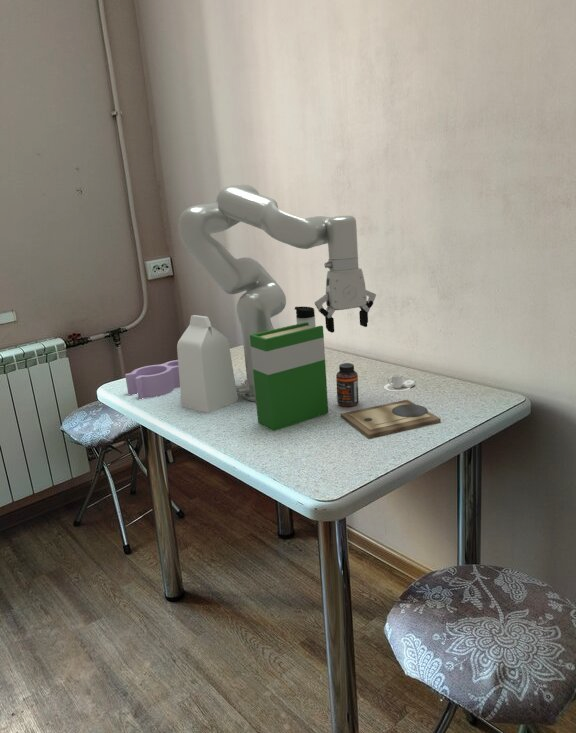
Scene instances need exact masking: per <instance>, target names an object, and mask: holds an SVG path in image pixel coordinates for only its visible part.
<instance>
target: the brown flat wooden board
mask: <svg viewBox="0 0 576 733" xmlns="http://www.w3.org/2000/svg"><path fill="white" fill-rule="evenodd" d="M340 418H341V419H343V420H344V422H346V423H347V424H349V425H351V427H353V428H354V429H356V430H357V431H358V432H360V433H361V434H362V435H364V437H366V438H368V439H372V438H376V437H377V438H378V437H381V436H386V435H390V434H395V433H400V432H403V431H408V430H412V429H416V428H421V427H425V426H430V425H434V424H438V423H439V424H440V423H441V421H442V420H441V419H442V418H441V417H438V416H437V415H435V414H434V413H432V412H430V411H428V409H427V407H425V406H424V405H420V404H416V403H415V402H412V401H410V400H409V399H403V400H399V401H394V402H391V403H384V404H380V405H374V406H371V407H365V408H361V409H356V410H350V411H346V412H342V413H340Z"/></svg>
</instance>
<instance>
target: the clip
mask: <svg viewBox="0 0 576 733" xmlns="http://www.w3.org/2000/svg"><path fill="white" fill-rule="evenodd" d="M125 383H126V388H127V393H128V394H137V393H138V394H137V397H138V400H139V399H141V400H143V399H142V398H144V397H149V398H156V396H157V397H161V395H162V396H164V395H168V394H170V393H172V392H173V391H174V390H176V389H177V388H180V379H179V366H178V359H176V360H170V361H166V362H163V363H161V364H152V365H145V366H142V367H139V368H135V369H134V370H132V371H131V372H129V373H125ZM128 394H127V395H128ZM144 399H145V398H144Z"/></svg>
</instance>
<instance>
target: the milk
mask: <svg viewBox="0 0 576 733" xmlns="http://www.w3.org/2000/svg"><path fill="white" fill-rule="evenodd" d="M189 319H190V320H189V325H188V327H186V329H185V330H184V332H183V333H182V335H181V336H180V338H179V340H178V341H177V345H176V352H177V360H178V366H179V379H180V387H179V390H180V392H179V393H180V404H181V405H182V407H186V408H189V409H192V410H196V411H200V412H203V413H205V414H206V413H207V414H210V413H213V412H215V411H217V410H220V409H223V408H225V407H227V406H229V405H232V404H234V403H236V402H238V401H239V397H238V392H237V391H236V386H237V384H236V380H235V379H236V377H235V371H234V366H233V361H232V360H233V359H232V352H231V348H230V343H229V339H228V338H227V337H226V336H225V335H224V334H222V333H221V332H219V331H218V330H217V329H216V328H215V327H213V326H212V322H211V321H210V318H209V316H205V315H197V314H193V315H190V318H189Z"/></svg>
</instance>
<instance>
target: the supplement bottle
mask: <svg viewBox="0 0 576 733" xmlns="http://www.w3.org/2000/svg"><path fill="white" fill-rule="evenodd" d="M335 383H336V398H337V399H336V400H337V405H338V406H340V407H346V408H347V407H348V408H350V407H355V406H357V405H358V404H359V402H360V401H359V376H358V372H357V371H355V365H354V363H350V362H345V363H341V364H339V366H338V372H337V373H336V382H335Z"/></svg>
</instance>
